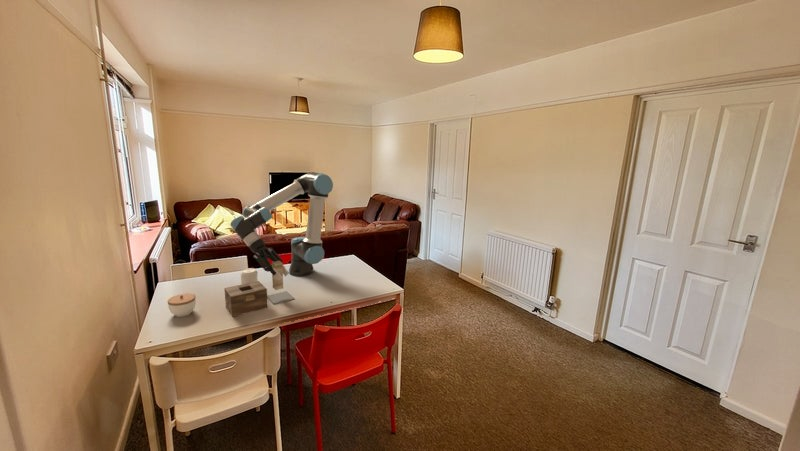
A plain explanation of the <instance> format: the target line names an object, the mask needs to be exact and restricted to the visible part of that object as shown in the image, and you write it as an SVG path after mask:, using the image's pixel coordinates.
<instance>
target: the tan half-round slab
mask: <svg viewBox="0 0 800 451" xmlns="http://www.w3.org/2000/svg"><path fill="white" fill-rule="evenodd" d="M256 281H259V279H258V271H257V269H256V268H254V267H250V268H244V269H242V270H241V271H240V282H241V284H240V285H242V284H247V283H252V282H256Z"/></svg>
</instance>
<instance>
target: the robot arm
mask: <svg viewBox="0 0 800 451" xmlns="http://www.w3.org/2000/svg"><path fill="white" fill-rule="evenodd" d="M333 188H334V182H333V179H332V178H331V177H330V176H329V175H328V174H325V173H319V172H313V171H311V172H308V173H305V174H303V175H301V176H300V177H298V178H296V179H294V180H293V182H292V183H291V184H289V185H287V186H285V187H283V188H281V189H280V190H278V191H276V192H274V193H272V194H271V195H269V196H267V197H266V198H264V199H261V200H260V201H259V202H256V203H254V204H252V205H247V206H245V207H244V208H243V209H242V215H243V216H242V215H239V216H237V217H235V218H233V219H232V220H231V222H230V224H229V225H230V227H231V228H232V230H233V231H234V233H236V235H237V236H238V237H239V238H240V239H241V240H242V241H243V243H244V244H246V246H247V247H248V249H249V250H250V251H251V252H252V253H254V255H253V256H252V258H253V259H255V260H256V262H257V263H258V264H259V266H261V268H262V269H263V271H265V272H268V273H269V272H270V273H271V275H272V274H273V275H274V276H275V277H276V278H277V280H278V281H279V280H280V279H281V278H282V276H281V275H280V274H279V272H278V271H277V270H276V269H275V268H273V267H272V263H271V262H276V261H281V262H282V263H283V262H284V260H283V259H282V258H281V256H280V255H279V254H278V253H277V252H276V251H275V249H274V248H273V247H272V246H271V247H268V246H266V241H264V240H263V239H262V238H261V236H260V235H259V234H258V233H257V231H256V229H258V228H259V227H260V226H263V225H264V224H266V223H268V222H269V221H270V220H272V218H273V215H272V213H271V211H273V210H274V209H277V208H278V207H280V206H282V205H283V204H285V203H286V202H288V201H290V200H292V199H294V198H295V197H297V196H299V195H304V194H306V193H307V195H308V197H310V198H309V205H308V206H309V208H308V214H307V215H308V216H307V224H306V231H305V232H306V233H305V236H297V237H293V238H291V243H290V246H291V247H290V248H291V262H290V265H289V270H288V269H287V268H286V267H285V265H283V276H285V277H287V276H288V275H291V276H294V277H304V276H309V275H311V274H313V273H315V272H314V266H313V265H316V264H318V263H320V262H322V260H323V259H324V256H325V250H324V248H323V240H322V239H321V236H322V235H321V234H322V228H323V218H324V210H325V204H326V203H325V202H326V200H327V199H328V198H329V194H330V193H331V192H332V191H333ZM270 261H271V262H270Z"/></svg>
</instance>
